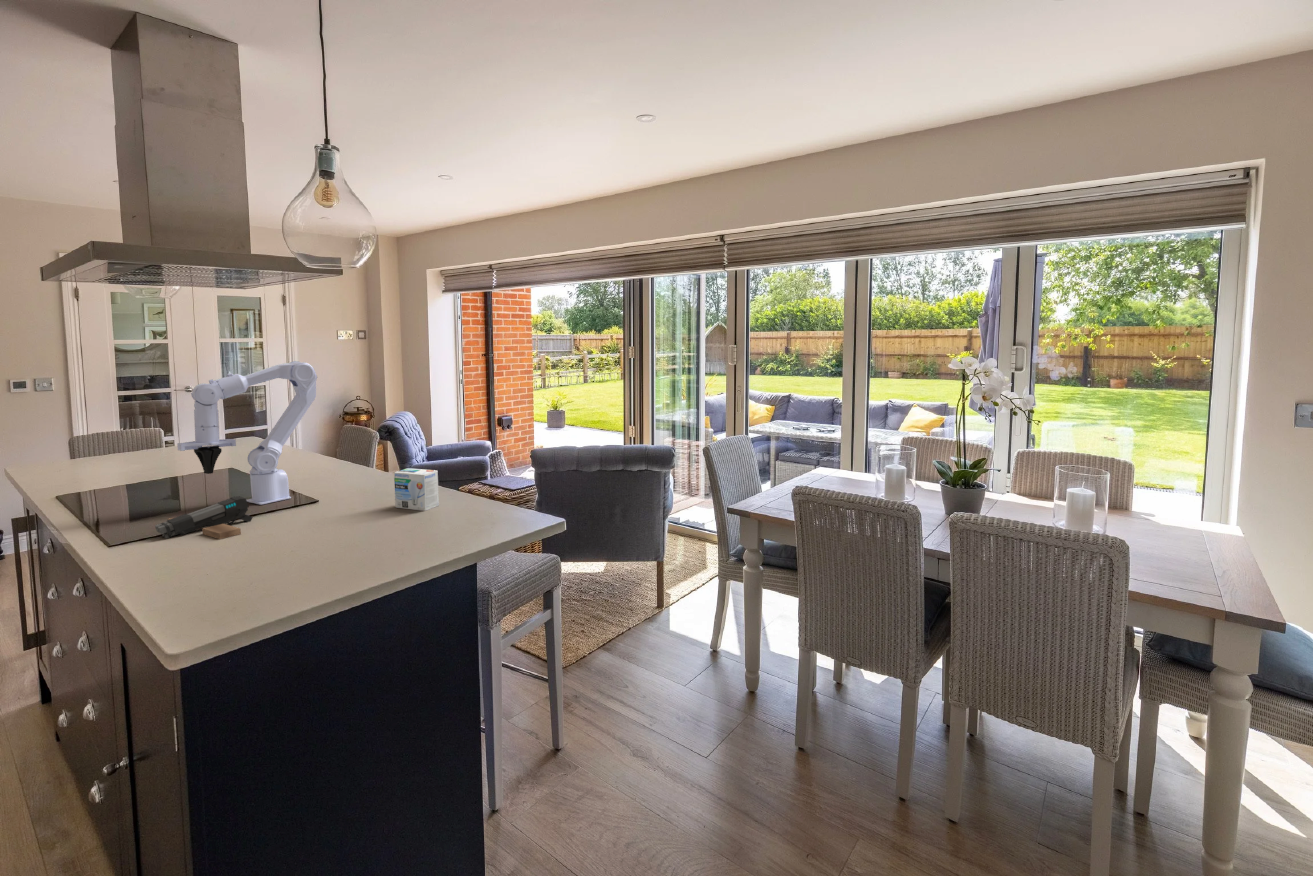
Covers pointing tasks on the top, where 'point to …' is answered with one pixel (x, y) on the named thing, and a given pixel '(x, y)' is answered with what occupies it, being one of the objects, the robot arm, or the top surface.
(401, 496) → the light bulb box
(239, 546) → the top surface
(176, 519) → the gun
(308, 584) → the top surface
